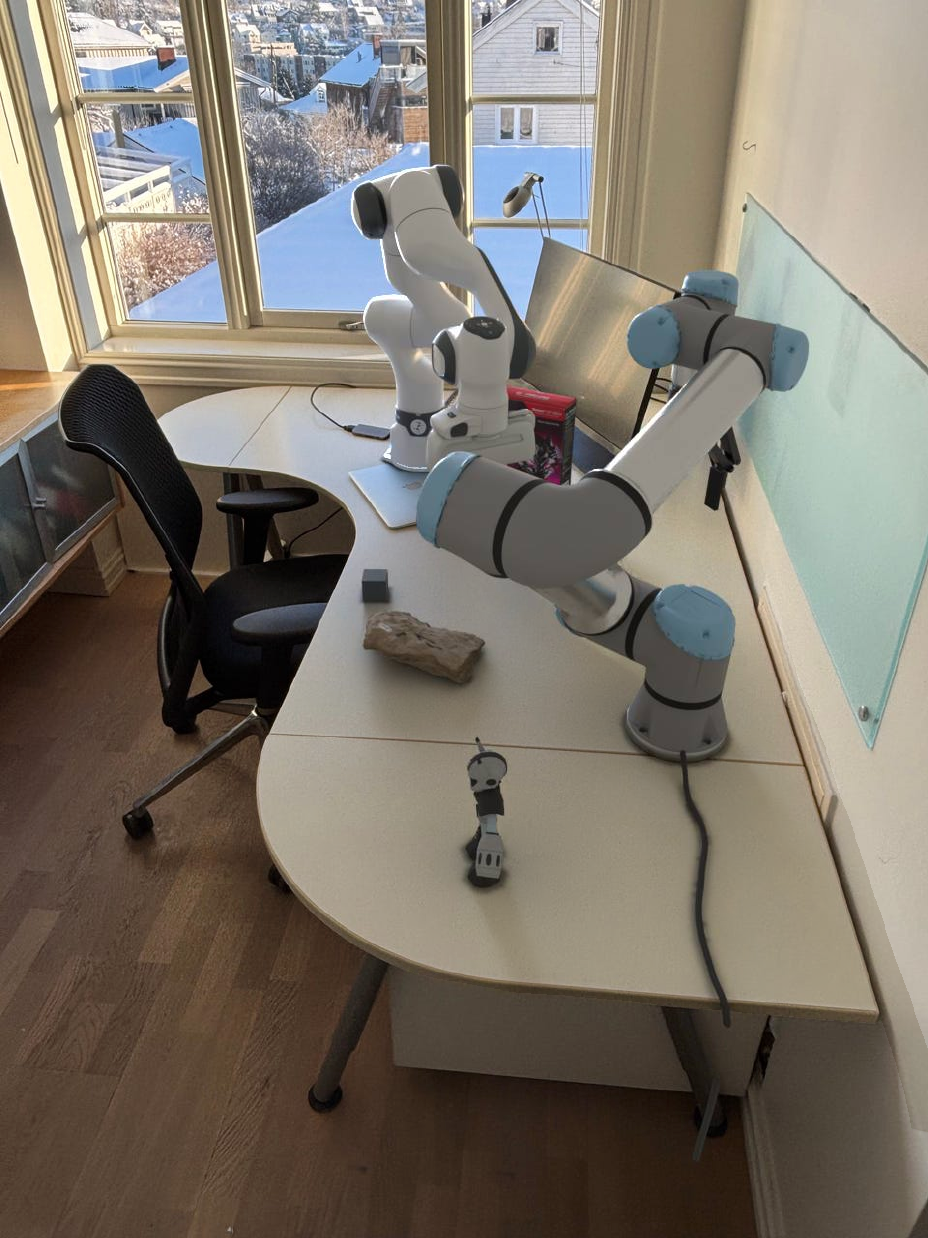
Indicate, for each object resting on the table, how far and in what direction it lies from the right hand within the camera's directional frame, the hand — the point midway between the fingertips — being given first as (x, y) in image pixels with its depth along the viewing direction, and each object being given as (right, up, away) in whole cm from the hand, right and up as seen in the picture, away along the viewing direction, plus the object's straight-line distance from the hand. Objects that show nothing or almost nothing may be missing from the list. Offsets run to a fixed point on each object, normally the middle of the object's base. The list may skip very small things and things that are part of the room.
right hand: (676, 515), depth 146 cm
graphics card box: (-19, +6, +57) cm, 61 cm away
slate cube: (-50, -12, +29) cm, 59 cm away
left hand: (-30, +7, +21) cm, 38 cm away
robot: (-31, -48, -25) cm, 63 cm away
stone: (-41, -23, +13) cm, 49 cm away
